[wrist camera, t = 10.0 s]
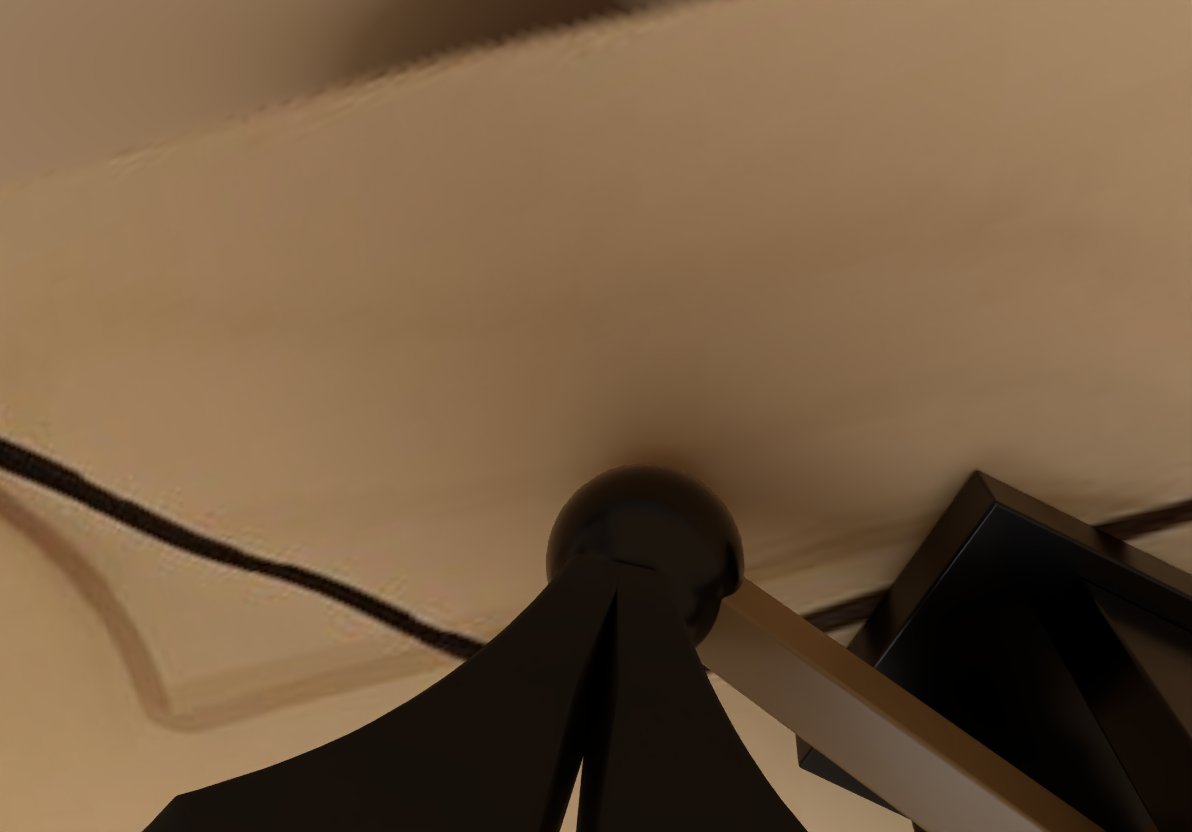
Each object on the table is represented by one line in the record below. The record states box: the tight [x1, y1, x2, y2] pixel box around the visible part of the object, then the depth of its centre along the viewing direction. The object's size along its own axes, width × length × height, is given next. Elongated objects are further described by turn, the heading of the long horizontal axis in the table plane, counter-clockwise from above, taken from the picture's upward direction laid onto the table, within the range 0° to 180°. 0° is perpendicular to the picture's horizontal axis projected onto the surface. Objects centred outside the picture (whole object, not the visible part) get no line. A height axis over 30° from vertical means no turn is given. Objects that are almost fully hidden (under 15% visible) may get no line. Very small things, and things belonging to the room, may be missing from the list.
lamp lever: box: [546, 464, 1158, 832], centre depth 13 cm, size 12×3×3 cm, turn 66°
